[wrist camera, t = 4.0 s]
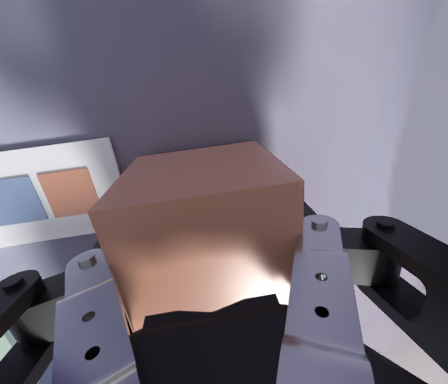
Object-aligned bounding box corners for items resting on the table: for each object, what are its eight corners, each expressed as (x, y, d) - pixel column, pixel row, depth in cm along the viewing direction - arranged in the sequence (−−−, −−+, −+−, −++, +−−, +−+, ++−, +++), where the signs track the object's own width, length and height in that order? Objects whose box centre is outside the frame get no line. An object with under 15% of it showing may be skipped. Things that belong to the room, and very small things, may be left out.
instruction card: (109, 136, 12) (107, 137, 11) (136, 225, 14) (134, 227, 13) (-65, 159, 11) (-72, 161, 11) (-12, 247, 13) (-16, 251, 13)
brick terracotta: (255, 140, 12) (304, 180, 7) (261, 238, 15) (301, 327, 9) (137, 156, 12) (87, 212, 6) (162, 254, 14) (142, 356, 9)
